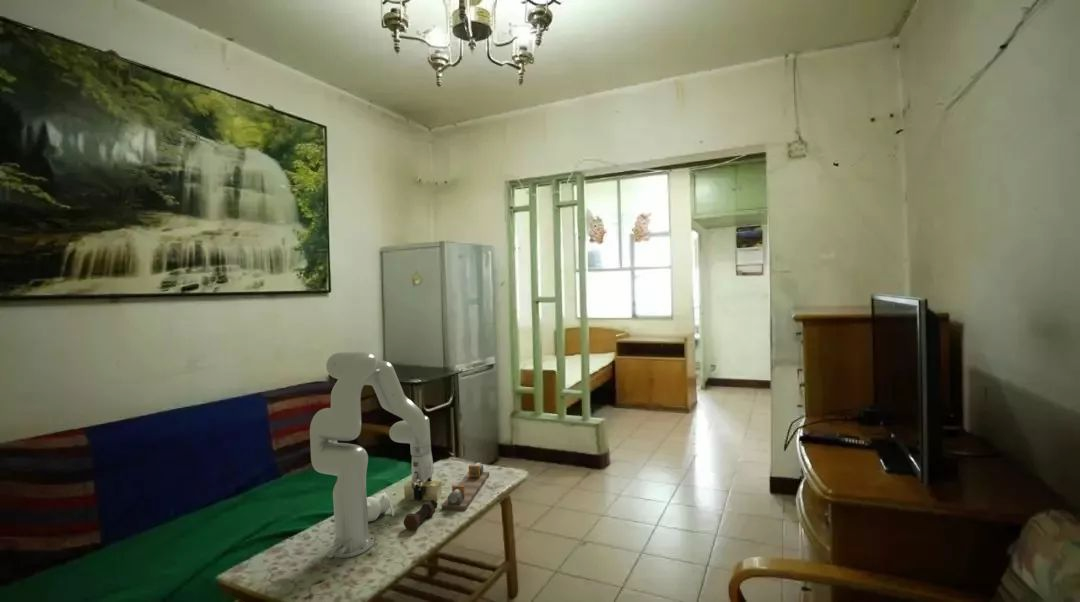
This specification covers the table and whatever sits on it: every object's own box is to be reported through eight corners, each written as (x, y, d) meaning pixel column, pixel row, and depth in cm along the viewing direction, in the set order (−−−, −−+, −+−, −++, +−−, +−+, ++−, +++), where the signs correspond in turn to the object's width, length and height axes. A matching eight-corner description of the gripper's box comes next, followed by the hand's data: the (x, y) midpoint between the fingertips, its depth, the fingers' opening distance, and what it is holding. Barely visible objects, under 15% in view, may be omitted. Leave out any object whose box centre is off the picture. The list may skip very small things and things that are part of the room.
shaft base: (465, 510, 159) (465, 492, 159) (441, 509, 161) (440, 492, 160) (489, 475, 189) (488, 461, 189) (468, 475, 190) (467, 460, 190)
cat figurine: (385, 483, 163) (358, 496, 152) (404, 503, 159) (378, 517, 148) (376, 501, 165) (349, 515, 154) (395, 521, 161) (368, 537, 150)
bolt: (436, 514, 161) (412, 535, 147) (425, 506, 162) (400, 526, 148) (443, 501, 160) (419, 520, 146) (432, 493, 162) (408, 511, 147)
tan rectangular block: (437, 500, 168) (436, 486, 168) (404, 500, 170) (403, 485, 170) (441, 495, 172) (441, 481, 172) (410, 494, 174) (409, 480, 174)
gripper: (420, 457, 162) (423, 505, 162) (438, 441, 179) (441, 485, 179) (400, 457, 163) (403, 505, 163) (421, 441, 180) (423, 484, 180)
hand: (423, 494), depth 171 cm, fingers open, 7 cm apart
